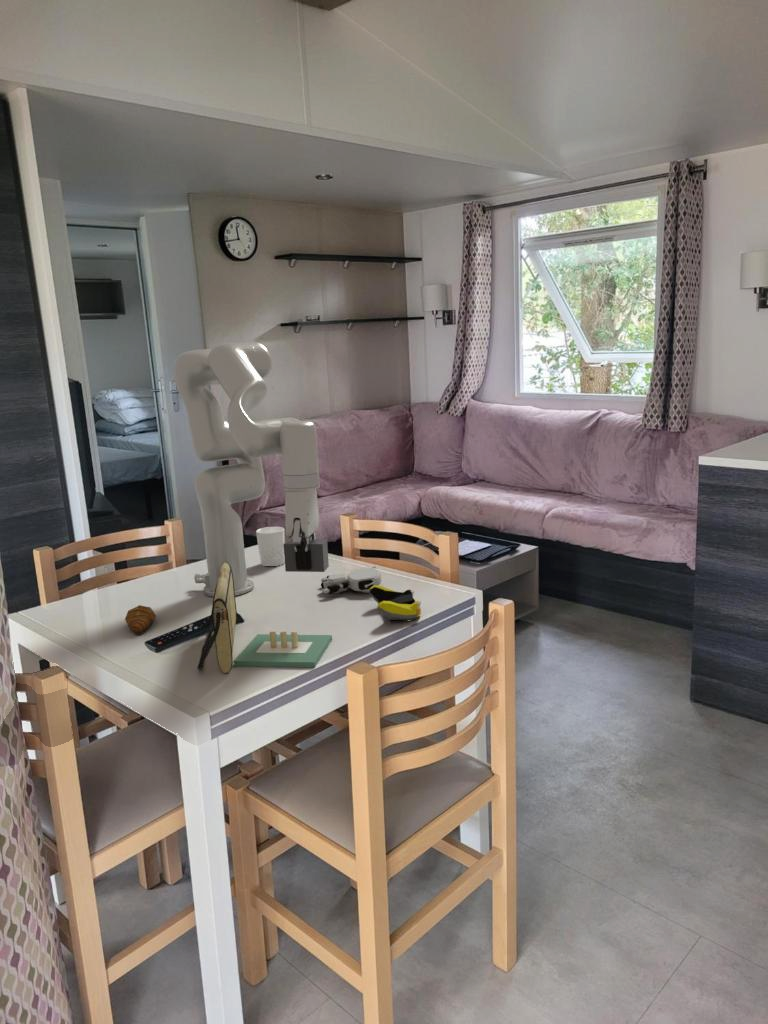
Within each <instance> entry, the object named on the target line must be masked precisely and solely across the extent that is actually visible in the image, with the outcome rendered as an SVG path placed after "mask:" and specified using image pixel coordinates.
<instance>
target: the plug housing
mask: <svg viewBox="0 0 768 1024" xmlns="http://www.w3.org/2000/svg"><path fill="white" fill-rule="evenodd" d="M301 541H304V544H305V540H301ZM309 551H311V565H312V568H311V569H310V570H297V569H296V557H295V545H294V544H293V538H289V539H288V540H285V543H284V557H285V563H284V568H285V569H284V571H285V572H286V573H287V572H290V573H291V572H294V573H295V572H296V573H297V572H298V573H299V572H302V573H303V572H305V573H308V572H309V573H313V572H314V573H325V571H326V570H327V569H328V568H329V566H330V565H329V548H328V539H327V538H325V539H324V538H316V539H312V536H309Z"/></svg>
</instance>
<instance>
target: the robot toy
mask: <svg viewBox="0 0 768 1024" xmlns="http://www.w3.org/2000/svg"><path fill="white" fill-rule="evenodd" d="M320 581H321V583H320V587H321V588H322V590H321V592H322V593H323V594H329V595H331V594H336V593H337V594H340V593H342V592H346V591H348V589H349V588H350V589H351V590H353V591H355V592H361V593H364V594H367V593H369V591H370V588H371V587H372V586H374V585H375V586H381V583H382V574H381V572H380V571H379V570H378V569H377V566H376V565H374V566H372V567H371V566H370V567H368V566H367V567H362V568H356V569H353V570H351V571H350V572H349V573H348V574H346V573H336V574H331V575H327V576H326V577H322V578H321V579H320Z"/></svg>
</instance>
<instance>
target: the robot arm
mask: <svg viewBox="0 0 768 1024" xmlns="http://www.w3.org/2000/svg"><path fill="white" fill-rule="evenodd" d="M272 360H273V359H272V356H271V353H270V352H269V349H268V348H267V347H266V346H264V345H263V344H262V343H260V342H257V341H248V342H247V341H246V342H244V341H243V342H241V341H240V342H226V343H221V344H218V345H215V346H214V347H213V348H207V349H206V348H205V349H203V348H202V349H193V350H188V351H185V352H182V353H180V354H179V355H178V356H177V357H176V359H175V361H174V365H173V376H174V378H173V379H174V382H175V385H176V388H177V391H178V394H179V395H180V398H181V399H182V401H183V404H184V406H185V409H186V415H187V420H188V424H189V425H188V426H189V429H190V436H191V439H192V447H193V450H194V452H195V455H196V457H197V459H198V460H200V462H205V463H213V462H220V461H228V460H234V459H236V461H237V463H236V464H235V463H234V464H225V465H221V466H220V465H219V466H213V467H209V468H207V469H203V470H202V471H200V472H199V473H198V474H197V475H196V476H195V479H194V489H195V490H194V491H195V494H196V497H197V501H198V504H199V508H200V514H201V521H202V529H203V537H204V547H205V555H206V556H205V557H206V565H207V566H206V567H207V573H206V574H205V573H204V574H203V573H196V574H194V577H193V578H194V583H195V584H204V585H205V586H204V587H203V593H204V594H205V596H209V597H213V598H214V593H215V589H216V585H217V582H218V578H219V573H220V567H221V564H222V563H223V562H228V563H229V564H230V566H231V569H232V573H233V580H234V591H235V597H236V596H240V595H244V594H246V593H248V592H250V591H253V589H254V587H255V583H254V581H253V580H251V579H248V573H247V566H246V565H247V564H246V554H245V544H244V543H245V542H244V533H243V531H244V530H243V523H242V520H241V517H240V515H239V514H238V513H237V512H236V510H234V509H233V508H232V504H235V503H241V502H245V501H252V500H257V499H258V498H260V497H261V496H262V495H264V492H265V489H266V480H265V479H266V478H265V472H264V468H263V460H262V457H268V456H274V455H275V456H276V455H280V457H281V471H282V472H281V473H282V485H283V490H284V491H285V499H284V500H285V501H284V503H285V504H284V511H285V514H284V515H285V535H286V537H287V539H288V538H289V539H293V544H294V545H295V557H296V569H297V570H310V569H311V568H312V565H311V551H309V536H312V539H317V537H316V535H317V534H316V531H317V530H318V528H319V526H320V512H319V511H320V510H319V501H318V493H317V490H318V489H320V487H321V484H320V483H321V482H320V481H321V480H320V471H319V470H320V469H319V454H318V453H319V451H318V435H317V434H318V433H317V427H316V425H315V423H314V422H312V421H310V420H300V419H298V418H295V417H281V418H268V419H260V420H254V421H253V420H252V419H251V418H250V417H249V416H248V415H247V413H250V412H251V411H252V410H254V409H255V408H257V407H258V406H260V404H262V402H263V401H264V400H265V398H266V396H267V393H268V385H267V383H266V381H265V380H264V378H266V377H268V376H269V374H270V372H271V371H272V366H273V363H272ZM213 385H214V386H216V385H220V386H221V387H222V389H223V391H224V392H225V394H226V395H227V396H228V398H229V400H230V401H229V404H228V408H227V413H226V414H227V417H226V419H227V421H226V420H225V417H224V414H223V413H224V412H223V407H222V403H221V401H220V400H219V398H218V397H217V396H216V395H215V394H214V392H213V391H211V390H210V388H208V387H207V386H213ZM301 540H305V544H304V541H301Z"/></svg>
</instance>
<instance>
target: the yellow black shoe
mask: <svg viewBox="0 0 768 1024" xmlns="http://www.w3.org/2000/svg"><path fill="white" fill-rule="evenodd" d="M414 594H415V591H414V589H406V590H404V591H402V592H400V591H396V590H393V589H390V588H387V587H385V586H384V585H383V586H382V585H379V586H375V585H374V586H372V587H371V588H370V591H369V596H370V597H371V598H372V600H374V601H375V602H376V603H377V611H378V612H379V613H380V614H381V615H382V616H384V617H385V618H387V619H389V620H394V621H395V620H402V619H403V620H402V621H404V620H411V621H413V620H414V619H417V618H418V617H419V616H421V615H422V613H421V612H422V611H421V604H422V601H419V600H416V599H415V598H414Z"/></svg>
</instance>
